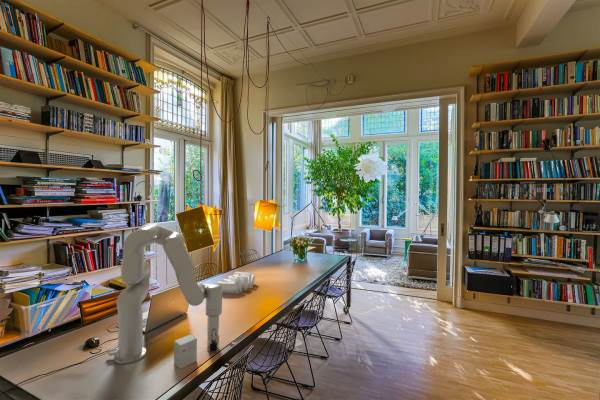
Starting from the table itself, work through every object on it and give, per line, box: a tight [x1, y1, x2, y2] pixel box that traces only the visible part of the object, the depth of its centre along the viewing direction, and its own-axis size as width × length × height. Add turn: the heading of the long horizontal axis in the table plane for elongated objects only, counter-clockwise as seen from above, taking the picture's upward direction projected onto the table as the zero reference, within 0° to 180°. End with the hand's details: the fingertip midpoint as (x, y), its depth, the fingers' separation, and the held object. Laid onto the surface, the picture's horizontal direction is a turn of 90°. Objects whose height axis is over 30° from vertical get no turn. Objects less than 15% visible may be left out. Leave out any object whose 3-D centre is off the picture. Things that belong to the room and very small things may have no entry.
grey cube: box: [206, 334, 220, 353], centre depth 139 cm, size 6×6×6 cm
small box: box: [173, 334, 198, 370], centre depth 127 cm, size 8×6×10 cm
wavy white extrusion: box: [216, 271, 256, 295], centre depth 225 cm, size 35×16×10 cm, turn 154°
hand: (213, 346), depth 139 cm, fingers open, 6 cm apart
